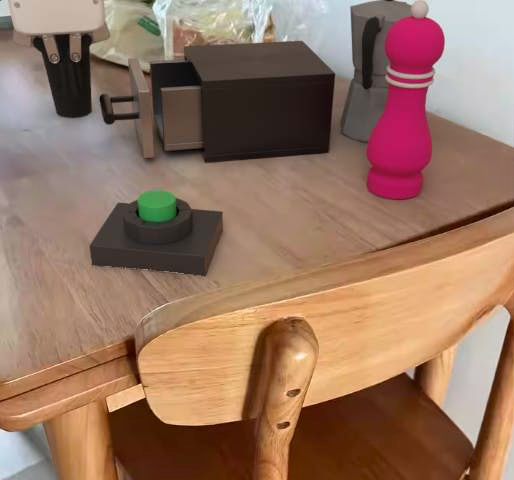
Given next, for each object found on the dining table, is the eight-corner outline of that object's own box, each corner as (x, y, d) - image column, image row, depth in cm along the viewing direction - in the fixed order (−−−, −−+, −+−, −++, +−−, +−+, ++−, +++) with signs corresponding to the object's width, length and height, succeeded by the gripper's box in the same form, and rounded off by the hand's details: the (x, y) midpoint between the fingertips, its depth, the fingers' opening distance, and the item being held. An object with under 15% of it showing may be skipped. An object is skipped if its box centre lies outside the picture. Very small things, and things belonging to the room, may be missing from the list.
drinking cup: (35, 117, 99) (6, -48, 87) (63, 99, 105) (40, -59, 93) (85, 124, 98) (64, -43, 85) (111, 105, 103) (94, -54, 91)
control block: (92, 265, 70) (86, 228, 67) (119, 221, 77) (116, 186, 74) (205, 276, 68) (204, 239, 66) (222, 230, 75) (222, 195, 73)
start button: (134, 222, 69) (132, 205, 68) (144, 204, 72) (143, 188, 71) (171, 225, 69) (170, 208, 68) (180, 208, 72) (179, 191, 70)
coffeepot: (353, 109, 104) (367, -31, 93) (418, 119, 101) (441, -23, 90) (318, 148, 93) (330, -6, 82) (391, 161, 90) (413, 4, 79)
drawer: (108, 160, 86) (101, 93, 81) (101, 122, 96) (93, 59, 91) (263, 148, 90) (264, 84, 85) (240, 112, 100) (241, 52, 95)
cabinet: (204, 162, 89) (202, 81, 83) (186, 121, 99) (183, 46, 93) (328, 153, 92) (335, 73, 86) (298, 113, 102) (302, 40, 96)
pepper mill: (435, 185, 85) (469, -2, 73) (409, 208, 80) (440, 13, 68) (379, 169, 88) (403, -12, 76) (351, 190, 83) (371, 1, 71)
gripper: (113, -92, 80) (130, 79, 91) (-30, -88, 77) (6, 88, 88) (120, -81, 74) (137, 100, 85) (-35, -77, 71) (4, 109, 82)
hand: (70, 93), depth 87 cm, fingers closed
